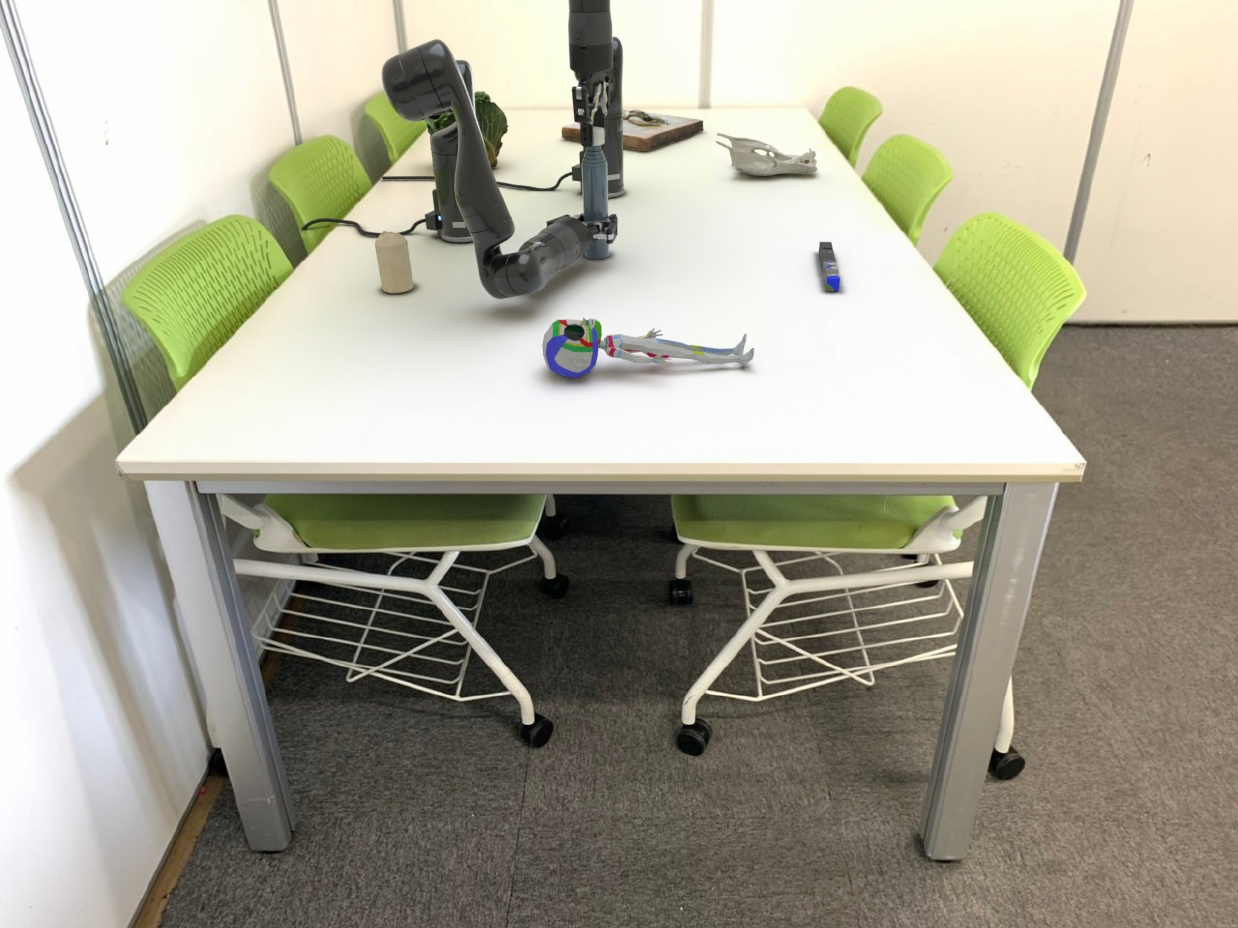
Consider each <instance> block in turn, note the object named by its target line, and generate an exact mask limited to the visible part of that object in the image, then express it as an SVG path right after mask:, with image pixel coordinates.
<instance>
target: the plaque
mask: <svg viewBox="0 0 1238 928" xmlns="http://www.w3.org/2000/svg"><path fill="white" fill-rule="evenodd" d="M704 130H705V129H704V120H702V119H698V118H693V117H685V116H679V115H669V114H663V113H659V112H650V111H644V110H642V109H637V108H636V109H635V108H634V109H630V110H629V109H623V149H625V150H632V151H640V152H648V151H654V150H656V149H659V148H662V147H663V146H664V147H665V146H667V145H670V144H672V143H676V142H680V141H682V140H684V139H687V138H691V137H692V136H694V135H696V134H698V133H700V132H704ZM561 138H562V139H563V140H568V141H573V142H580V143H581V136H580V124H578V123H577V122H573V123H569V124H567V125H564V126H562V127H561Z"/></svg>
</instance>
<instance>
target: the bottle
mask: <svg viewBox="0 0 1238 928" xmlns="http://www.w3.org/2000/svg"><path fill="white" fill-rule="evenodd" d="M582 192H583V194H582V213H583V219H584V221H587V222H589V221H592V220H595V219H598V220H603V219H605V218H607V217H608V216H609V198H608V174H607V160H606V159H605V156H604V153H603V150H602V149H601V145H597V146H591V147H587V149H586V150H585V154H584V157H583V160H582ZM603 230H604V225H603ZM609 256H610V244H607V243H606V241H605V239H599V240H598V241H597V242H594V243H591V244H590V246H589V248H588V250H587V252H586V253H585V254H584V257H585V258H587V259H589V260H604V259H606V258H609Z"/></svg>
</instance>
